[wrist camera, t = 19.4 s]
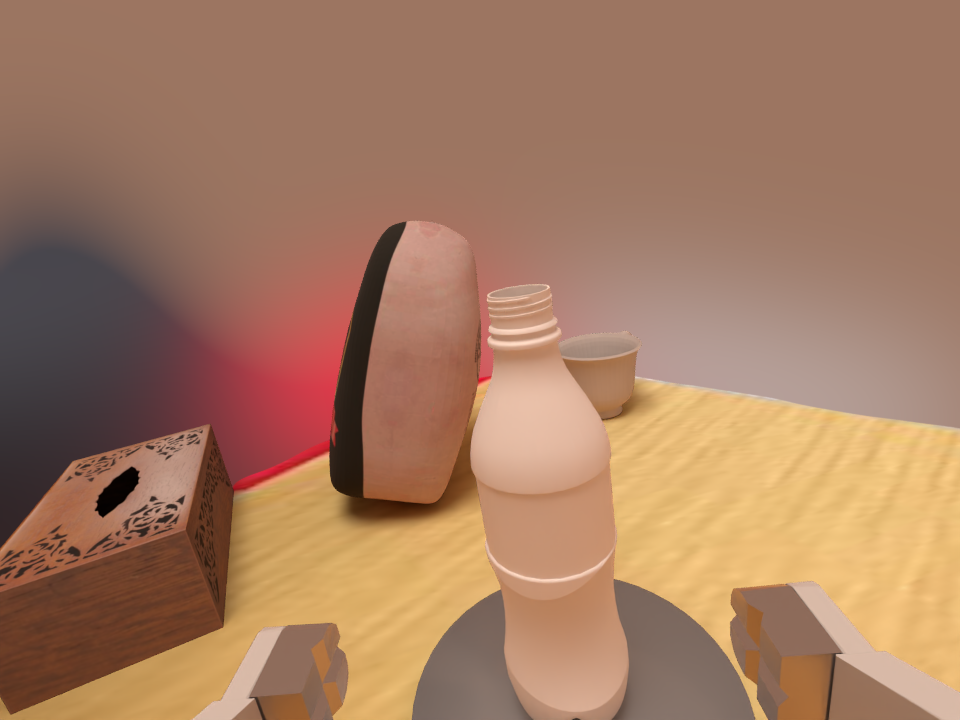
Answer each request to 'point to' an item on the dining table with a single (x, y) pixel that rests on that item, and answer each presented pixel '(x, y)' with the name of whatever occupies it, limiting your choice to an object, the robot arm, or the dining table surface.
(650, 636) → the plate
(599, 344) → the teacup
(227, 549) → the tissue box cover
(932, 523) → the dining table surface
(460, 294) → the packaged food
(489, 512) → the water bottle
